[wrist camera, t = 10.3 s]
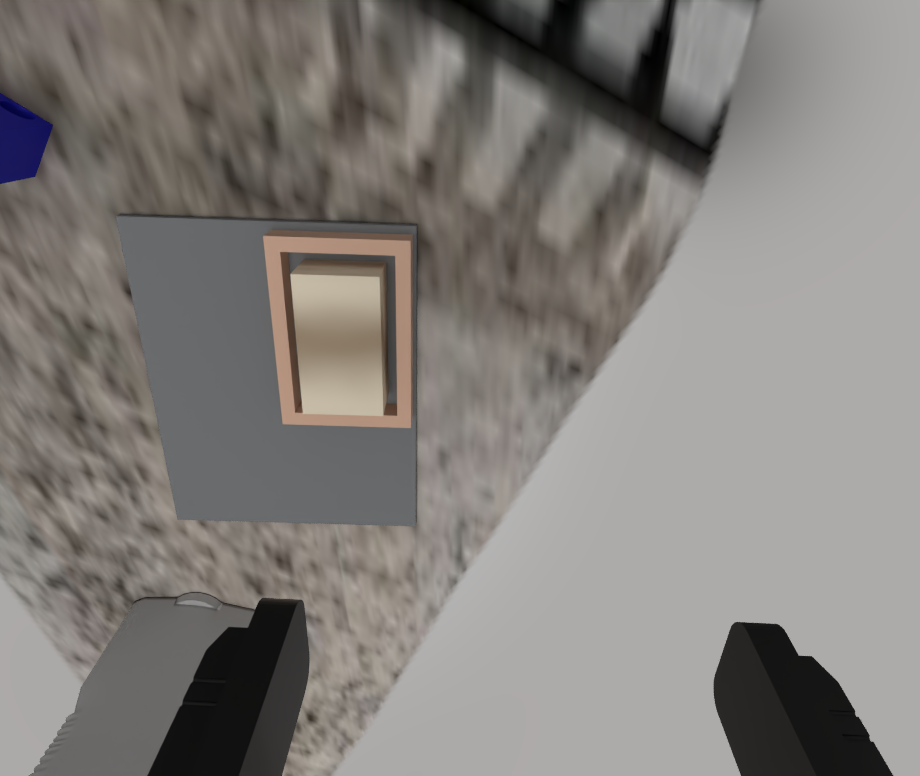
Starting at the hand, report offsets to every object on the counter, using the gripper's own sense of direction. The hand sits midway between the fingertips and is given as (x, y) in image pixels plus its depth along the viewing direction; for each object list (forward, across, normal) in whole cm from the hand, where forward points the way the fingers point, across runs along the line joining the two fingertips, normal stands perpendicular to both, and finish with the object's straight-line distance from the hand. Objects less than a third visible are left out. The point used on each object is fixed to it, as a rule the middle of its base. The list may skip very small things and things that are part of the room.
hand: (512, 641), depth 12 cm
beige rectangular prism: (+25, +8, +4) cm, 27 cm away
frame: (+26, +8, +4) cm, 27 cm away
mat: (+25, +12, +8) cm, 29 cm away
